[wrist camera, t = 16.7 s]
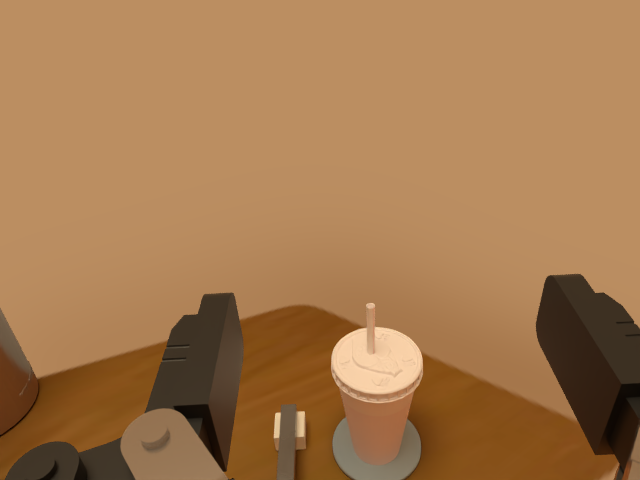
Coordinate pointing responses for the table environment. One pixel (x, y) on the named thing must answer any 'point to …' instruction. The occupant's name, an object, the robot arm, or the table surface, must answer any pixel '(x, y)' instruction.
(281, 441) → the steel bar
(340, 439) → the pad
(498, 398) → the table surface
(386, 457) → the smoothie
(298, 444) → the hurdle stand
